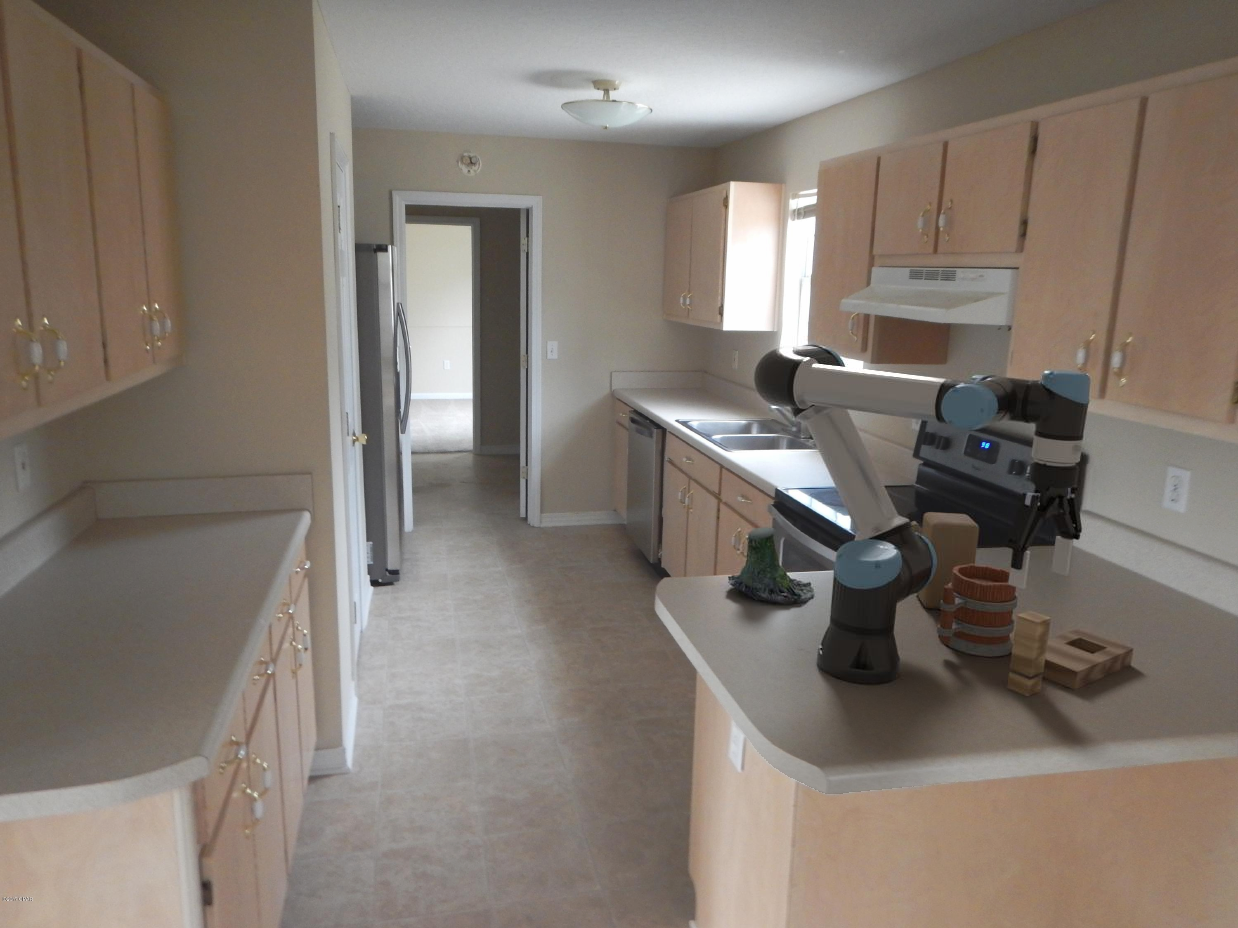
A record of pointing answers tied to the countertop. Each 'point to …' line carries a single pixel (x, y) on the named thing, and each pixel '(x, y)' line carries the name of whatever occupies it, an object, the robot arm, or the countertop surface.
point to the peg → (1028, 653)
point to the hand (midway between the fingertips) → (1038, 579)
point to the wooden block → (947, 550)
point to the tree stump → (768, 573)
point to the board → (1083, 658)
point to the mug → (978, 611)
